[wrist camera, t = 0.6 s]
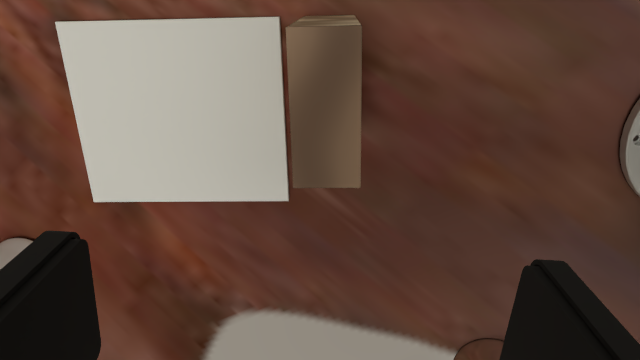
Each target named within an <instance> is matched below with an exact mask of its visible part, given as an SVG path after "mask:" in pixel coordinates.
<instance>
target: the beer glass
mask: <svg viewBox="0 0 640 360" xmlns="http://www.w3.org/2000/svg"><path fill="white" fill-rule="evenodd" d="M503 344H504V342H502V341H500V340H495V339H481V340H477V341H474V342H471V343H469V344H467V345H466V346H464V347H463V348H462V349H460V350H459V352H458V353H457V354H456V356H455V358H454V360H499V359H500V355H501V351H502V347H503Z"/></svg>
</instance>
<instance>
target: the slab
mask: <svg viewBox="0 0 640 360" xmlns="http://www.w3.org/2000/svg"><path fill="white" fill-rule="evenodd" d="M286 45H287V66H288V88H289V109H290V130H291V152H292V173H293V188H361V83H362V25H361V24H360V23H359V21H358V20H357V18H356V17H355V15H330V16H304V17H302V18H301V19H299V20H298V21H296V22H294V23H293V24H291V25H290V26H288V27H286Z"/></svg>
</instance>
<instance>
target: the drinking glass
mask: <svg viewBox="0 0 640 360" xmlns="http://www.w3.org/2000/svg"><path fill="white" fill-rule="evenodd" d="M32 242H33V241H32V240H29V239H25V238H11V239H7V240H5V241H2V242H1V243H0V269H2V268H3V267H4V266H5V265H6V264H7V263H9V262H10V261H11V260H12V259H13V258H14V257H16V256H17V255H18V254H19V253H20V252H21V251H23V250H24V249H25V248H26V247H27V246H28V245H30V244H31V243H32Z"/></svg>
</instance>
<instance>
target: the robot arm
mask: <svg viewBox="0 0 640 360" xmlns="http://www.w3.org/2000/svg"><path fill="white" fill-rule="evenodd" d="M620 161H621V168H622V171H623V174H624V176H625V178H626V181H627V183H628V184H629V185H630V187H631V188H632V189H633V191H634V192H635V193H636V194H637V195H638V196H639V197H640V99H639V100H638V101H637V103H636V104H635V106H634V107H633V109H632V110H631V113H630V115H629V117H628V119H627V121H626V123H625V126H624V129H623V133H622V137H621V141H620ZM100 348H101V338H100V331H99V323H98V316H97V308H96V301H95V293H94V286H93V278H92V270H91V263H90V255H89V248H88V243H87V242H86V240H83V239H80V237H79V235H78V234H77V233H76V232H63V231H45V232H44V233H42V234H41V235H40V236H39V237H38V238H37V239H35V240H34V241H33V242H32V243H31V244H30V245H28V246H27V247H26V248H25V249H24V250H23V251H21V252H20V253H19V254H18V255H17V256H16V257H14V258H13V259H12V260H11V261H10V262H9V263H7V264H6V265H5V266H4V267H3V268H2V269H0V360H97V358H98V356H99V353H100ZM499 360H640V344H639V343H638V342H637V341H636V340H635V339H634V338H633V337H632V336H631V334H630V333H629V332H628V331H627V330H626V329H625V328H624V327H623V326H622V324H621V323H620V322H619V321H618V320H617V319H616V318H615V317H614V316H613V314H612V313H611V312H610V311H609V310H608V309H607V308H606V307H605V306H604V304H603V303H602V302H601V301H600V300H599V299H598V298H597V297H596V295H595V294H594V293H593V292H592V291H591V290H590V289H589V288H588V287H587V285H586V284H585V283H584V282H583V281H582V280H581V279H580V278H579V277H578V275H577V274H576V273H575V272H574V271H573V270H572V269H571V268H570V267H569V265H568V264H567V263H565V262H564V261H554V260H537V259H536V260H534V261H533V262H532V263H531V265H530V266H525V267H524V269H523V271H522V274H521V278H520V282H519V286H518V289H517V293H516V297H515V301H514V305H513V309H512V313H511V316H510V320H509V324H508V328H507V332H506V336H505V340H504V344H503V347H502V351H501V355H500V359H499Z"/></svg>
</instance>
